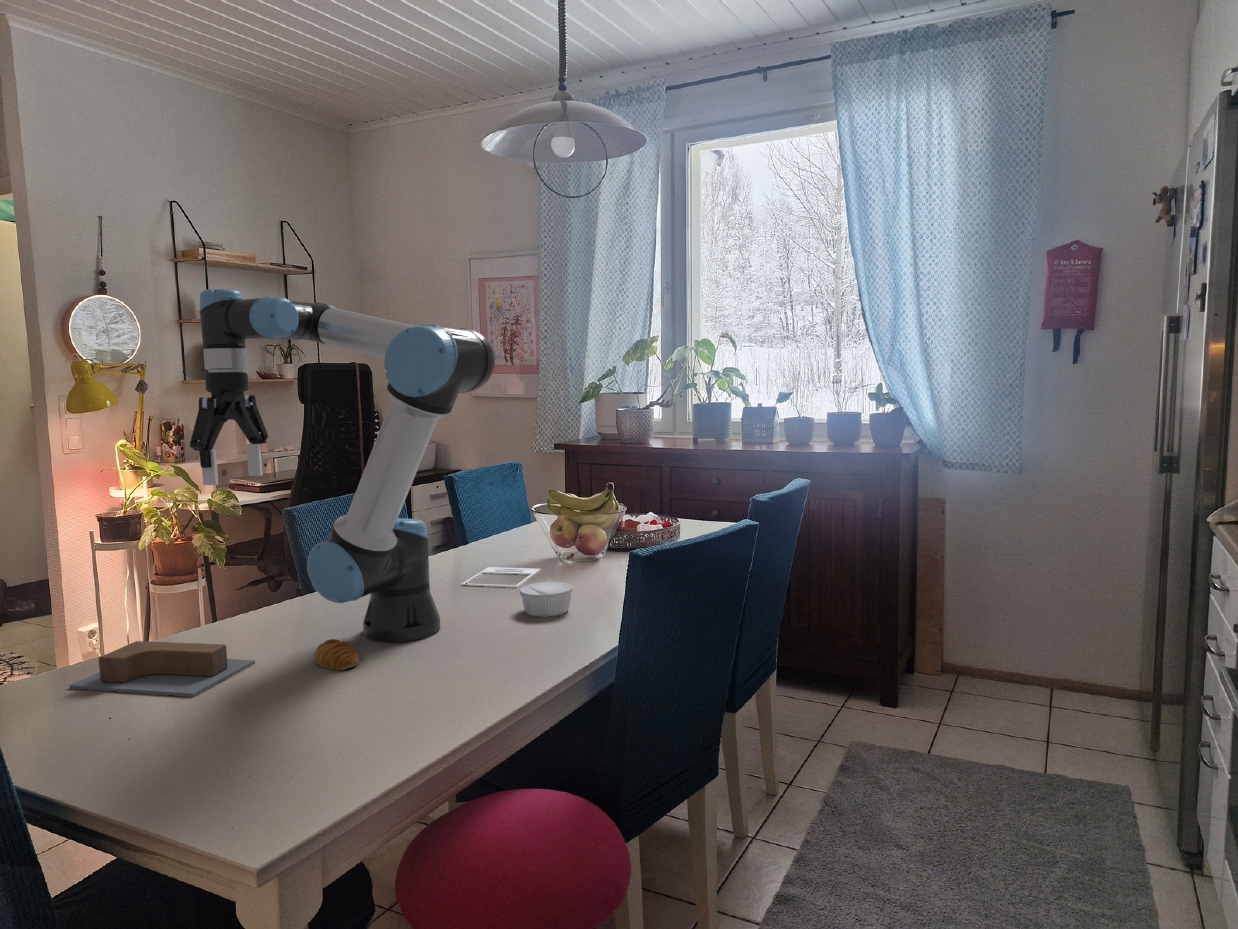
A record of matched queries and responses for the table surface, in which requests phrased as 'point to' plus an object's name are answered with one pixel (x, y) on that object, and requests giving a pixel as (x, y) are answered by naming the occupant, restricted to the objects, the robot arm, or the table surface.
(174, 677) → the mat
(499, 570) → the photo frame
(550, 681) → the table surface
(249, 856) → the table surface
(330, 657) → the pastry
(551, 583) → the ramekin
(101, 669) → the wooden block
